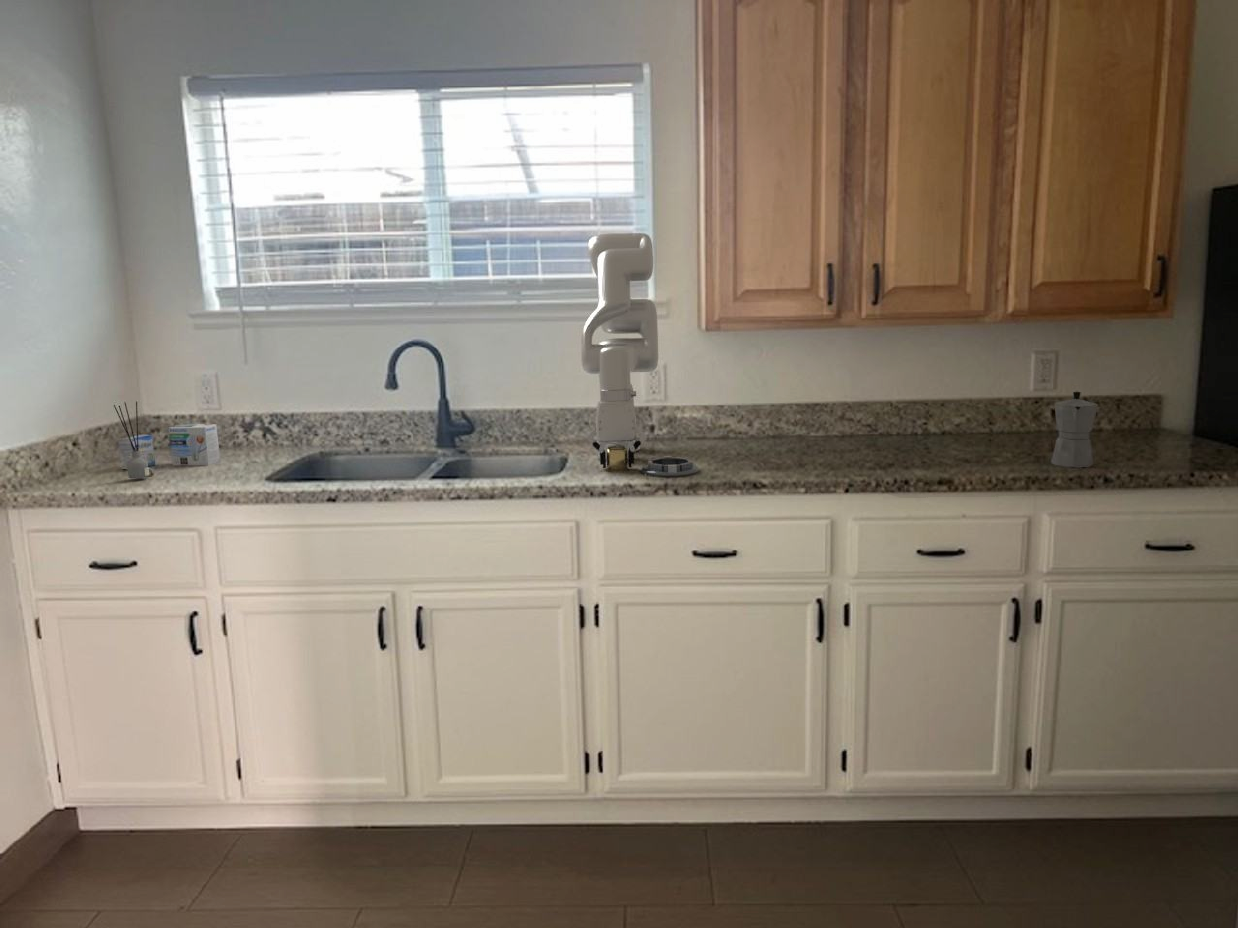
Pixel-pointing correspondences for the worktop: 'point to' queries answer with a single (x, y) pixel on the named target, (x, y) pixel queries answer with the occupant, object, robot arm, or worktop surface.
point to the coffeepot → (1074, 432)
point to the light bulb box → (194, 444)
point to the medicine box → (143, 445)
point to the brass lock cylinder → (617, 458)
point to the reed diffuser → (135, 454)
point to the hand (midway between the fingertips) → (617, 466)
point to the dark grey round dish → (670, 467)
